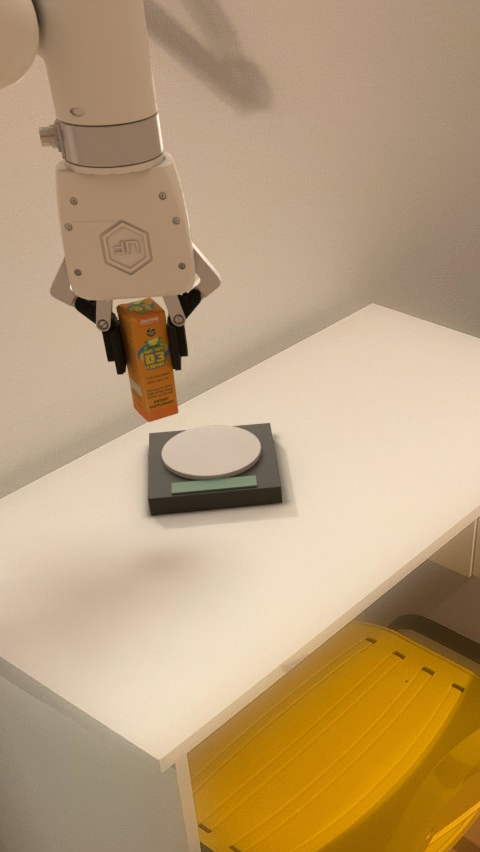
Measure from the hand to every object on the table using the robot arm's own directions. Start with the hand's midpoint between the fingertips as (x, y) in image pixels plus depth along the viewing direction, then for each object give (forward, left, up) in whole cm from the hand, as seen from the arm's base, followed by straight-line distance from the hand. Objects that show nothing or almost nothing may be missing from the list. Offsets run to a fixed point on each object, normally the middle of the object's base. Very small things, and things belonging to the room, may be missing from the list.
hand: (149, 363), depth 85 cm
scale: (+4, +12, -19) cm, 23 cm away
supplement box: (0, 0, -5) cm, 5 cm away
